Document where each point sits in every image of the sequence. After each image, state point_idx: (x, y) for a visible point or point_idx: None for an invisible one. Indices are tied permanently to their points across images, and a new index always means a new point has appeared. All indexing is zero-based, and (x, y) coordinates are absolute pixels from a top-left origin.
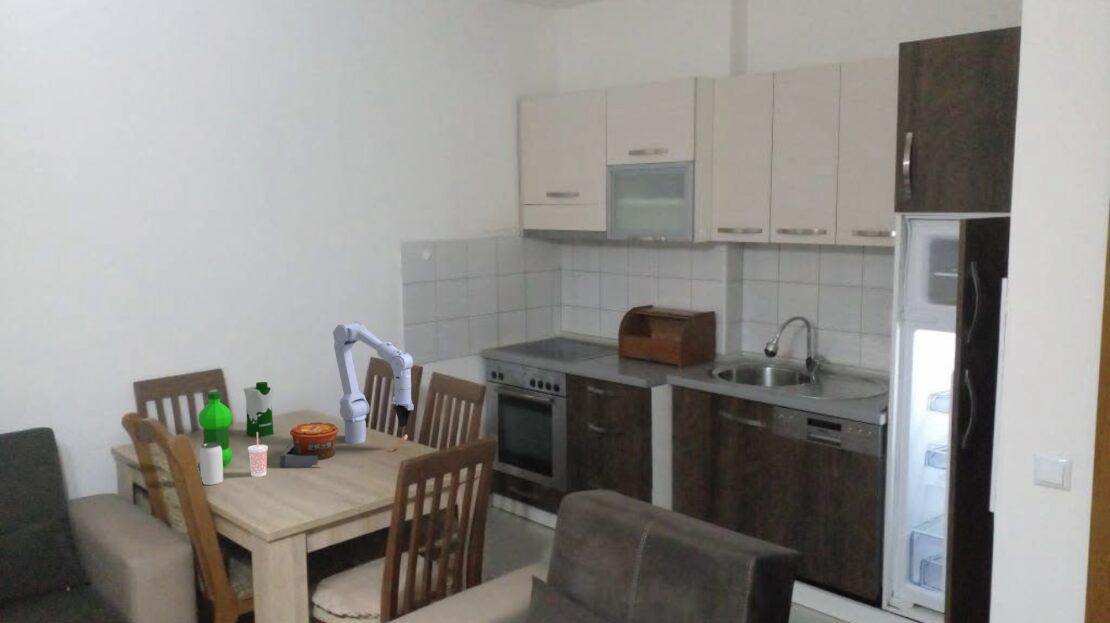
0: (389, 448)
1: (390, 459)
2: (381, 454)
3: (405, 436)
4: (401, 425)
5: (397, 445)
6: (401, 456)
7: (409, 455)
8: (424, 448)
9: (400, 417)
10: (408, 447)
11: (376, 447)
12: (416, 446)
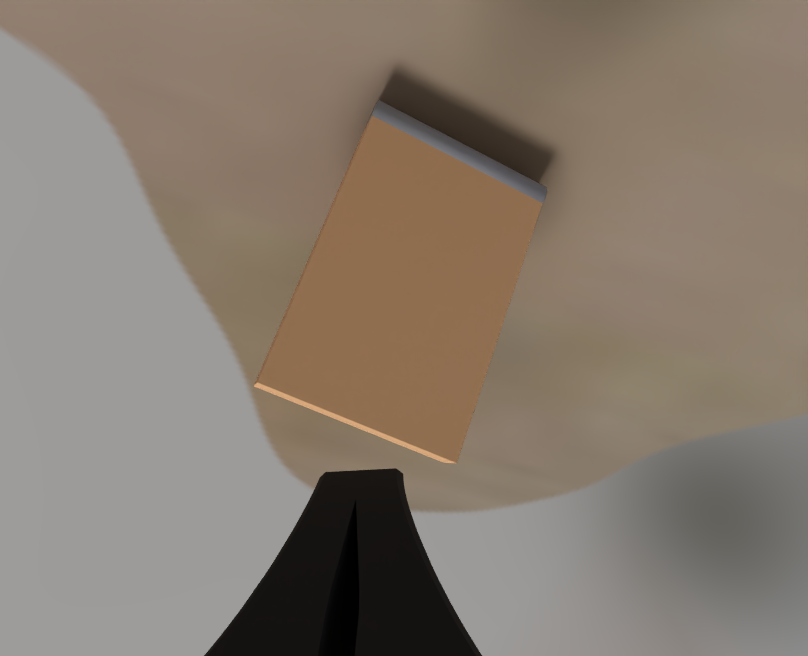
0: (490, 167)
1: (125, 53)
2: (402, 11)
3: (358, 423)
4: (313, 496)
5: (314, 249)
6: (214, 223)
7: (222, 313)
8: (410, 505)
9: (225, 639)
10: (526, 393)
11: (756, 55)
12: (517, 466)
